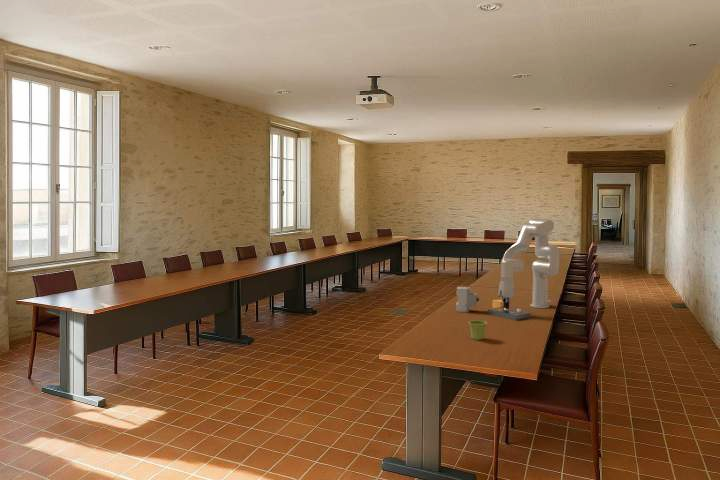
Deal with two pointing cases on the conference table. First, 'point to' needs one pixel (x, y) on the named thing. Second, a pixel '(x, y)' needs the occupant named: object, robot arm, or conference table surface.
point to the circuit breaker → (465, 299)
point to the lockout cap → (497, 303)
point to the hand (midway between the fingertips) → (506, 308)
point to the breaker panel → (509, 313)
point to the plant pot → (477, 329)
